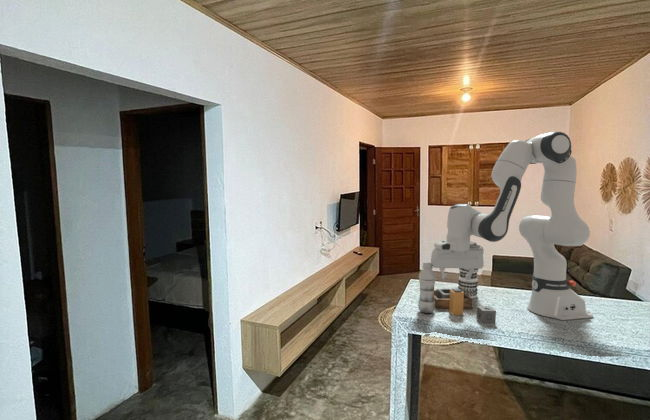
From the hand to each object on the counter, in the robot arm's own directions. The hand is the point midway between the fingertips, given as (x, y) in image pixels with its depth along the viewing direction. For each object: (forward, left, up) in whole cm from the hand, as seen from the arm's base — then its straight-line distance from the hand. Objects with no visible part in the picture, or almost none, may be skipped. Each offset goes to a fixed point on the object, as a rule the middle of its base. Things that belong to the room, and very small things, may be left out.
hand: (456, 278), depth 142 cm
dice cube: (-9, +8, -14) cm, 19 cm away
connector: (0, 0, -14) cm, 14 cm away
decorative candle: (-14, -22, -14) cm, 30 cm away
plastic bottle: (+11, -1, -14) cm, 18 cm away
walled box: (-1, -11, -14) cm, 18 cm away
